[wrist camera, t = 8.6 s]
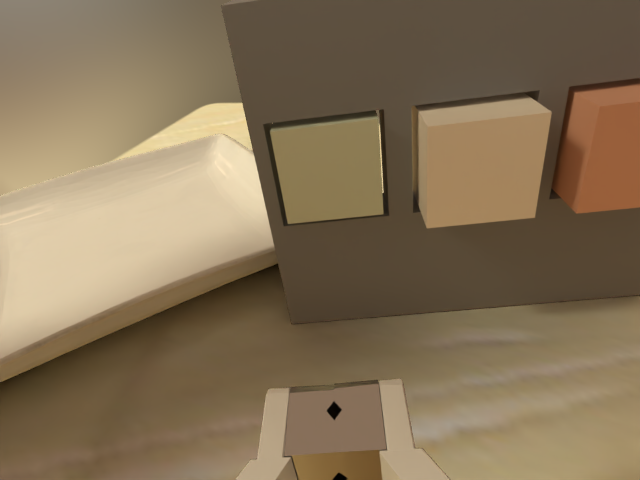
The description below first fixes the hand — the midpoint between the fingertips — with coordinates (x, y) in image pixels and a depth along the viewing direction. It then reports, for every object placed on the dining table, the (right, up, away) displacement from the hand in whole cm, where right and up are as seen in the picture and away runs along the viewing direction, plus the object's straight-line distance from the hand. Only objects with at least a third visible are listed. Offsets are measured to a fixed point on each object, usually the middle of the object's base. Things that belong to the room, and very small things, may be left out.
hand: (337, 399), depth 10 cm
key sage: (0, +6, +14) cm, 15 cm away
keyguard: (+8, +1, +18) cm, 20 cm away
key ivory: (+7, +5, +12) cm, 15 cm away
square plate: (-16, +3, +27) cm, 31 cm away
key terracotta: (+13, +6, +11) cm, 19 cm away
